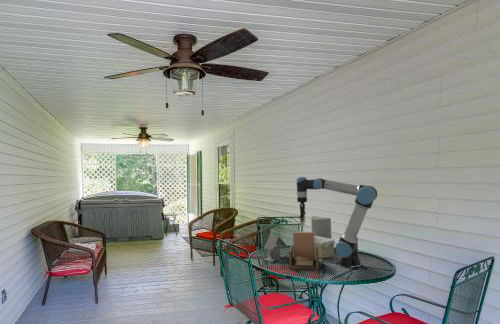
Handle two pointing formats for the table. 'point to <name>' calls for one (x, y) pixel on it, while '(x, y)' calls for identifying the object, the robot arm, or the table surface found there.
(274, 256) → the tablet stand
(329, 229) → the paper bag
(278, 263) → the table surface
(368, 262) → the table surface
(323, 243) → the storage basket
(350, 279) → the table surface
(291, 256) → the rack
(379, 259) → the table surface
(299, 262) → the offcut stack
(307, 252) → the sheet
